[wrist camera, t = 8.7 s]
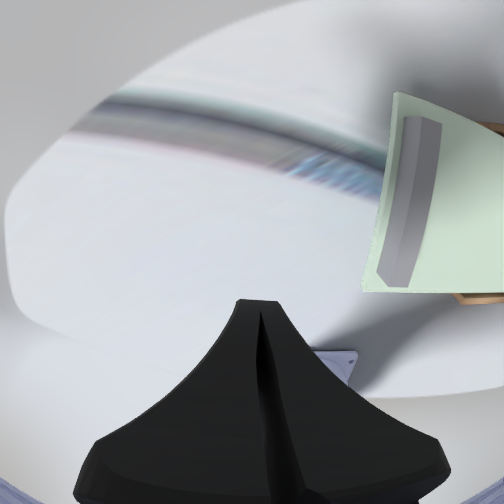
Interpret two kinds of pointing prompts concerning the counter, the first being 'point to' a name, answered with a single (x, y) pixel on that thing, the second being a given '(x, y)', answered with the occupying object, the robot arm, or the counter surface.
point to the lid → (438, 205)
